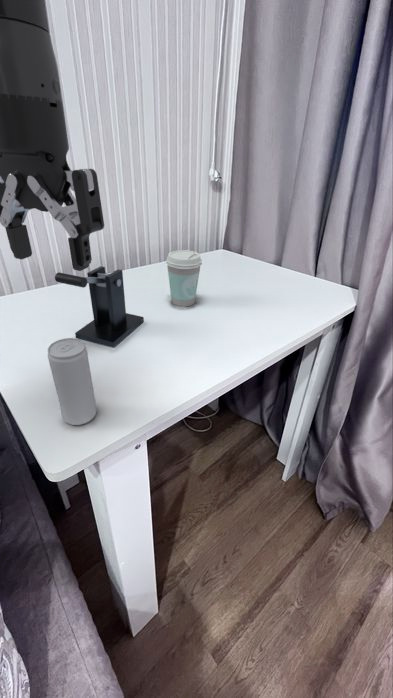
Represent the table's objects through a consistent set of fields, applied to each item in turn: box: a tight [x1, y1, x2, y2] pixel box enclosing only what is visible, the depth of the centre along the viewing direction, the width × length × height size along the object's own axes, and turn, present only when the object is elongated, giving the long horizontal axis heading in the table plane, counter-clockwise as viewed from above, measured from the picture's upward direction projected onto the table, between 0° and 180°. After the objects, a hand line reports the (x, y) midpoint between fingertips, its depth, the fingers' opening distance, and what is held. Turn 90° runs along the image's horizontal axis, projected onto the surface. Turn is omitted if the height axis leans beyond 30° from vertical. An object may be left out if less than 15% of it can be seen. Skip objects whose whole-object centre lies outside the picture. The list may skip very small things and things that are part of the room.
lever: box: [54, 271, 110, 289], centre depth 60 cm, size 12×5×2 cm, turn 159°
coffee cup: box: [165, 249, 203, 307], centre depth 80 cm, size 8×8×12 cm
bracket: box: [74, 265, 145, 348], centre depth 67 cm, size 12×9×13 cm
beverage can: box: [47, 337, 98, 426], centre depth 46 cm, size 5×5×12 cm
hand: (52, 263), depth 40 cm, fingers open, 8 cm apart
